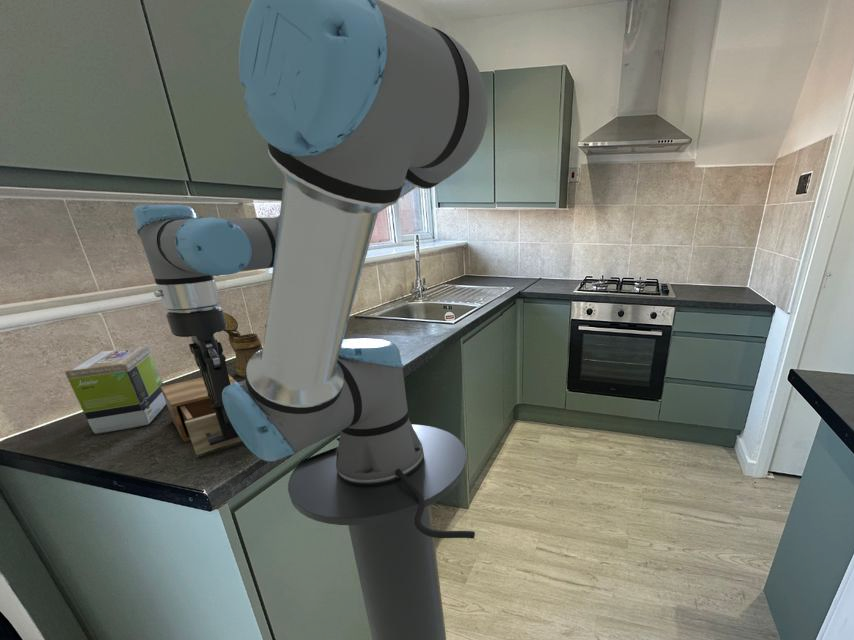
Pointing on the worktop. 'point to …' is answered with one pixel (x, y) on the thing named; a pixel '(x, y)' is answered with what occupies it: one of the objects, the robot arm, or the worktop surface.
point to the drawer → (203, 426)
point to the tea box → (118, 389)
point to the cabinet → (184, 400)
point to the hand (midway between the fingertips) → (232, 436)
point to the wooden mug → (241, 344)
